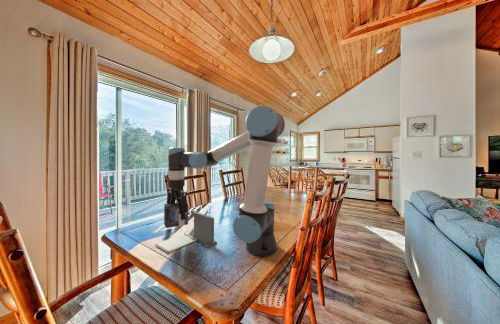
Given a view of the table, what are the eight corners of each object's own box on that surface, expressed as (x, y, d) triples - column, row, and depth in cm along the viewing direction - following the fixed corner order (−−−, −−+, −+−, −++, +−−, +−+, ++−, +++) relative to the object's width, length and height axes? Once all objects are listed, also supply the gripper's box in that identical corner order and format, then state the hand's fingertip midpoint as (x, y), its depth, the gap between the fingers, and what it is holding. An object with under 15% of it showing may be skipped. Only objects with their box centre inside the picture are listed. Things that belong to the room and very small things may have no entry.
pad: (197, 240, 102) (197, 238, 102) (167, 253, 89) (167, 251, 89) (184, 234, 109) (184, 233, 109) (155, 245, 96) (155, 243, 96)
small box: (165, 228, 93) (165, 206, 92) (163, 224, 98) (163, 203, 98) (188, 224, 98) (188, 203, 98) (185, 220, 104) (185, 201, 103)
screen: (217, 243, 99) (217, 216, 98) (208, 248, 95) (208, 219, 94) (199, 235, 108) (199, 210, 107) (190, 239, 103) (190, 213, 102)
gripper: (196, 180, 94) (195, 226, 95) (172, 176, 106) (172, 217, 108) (182, 182, 88) (182, 231, 89) (158, 177, 101) (159, 220, 102)
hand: (176, 223), depth 99 cm, fingers closed on small box, 8 cm apart
